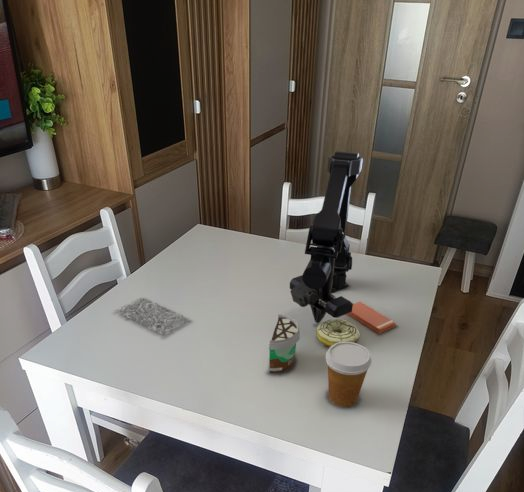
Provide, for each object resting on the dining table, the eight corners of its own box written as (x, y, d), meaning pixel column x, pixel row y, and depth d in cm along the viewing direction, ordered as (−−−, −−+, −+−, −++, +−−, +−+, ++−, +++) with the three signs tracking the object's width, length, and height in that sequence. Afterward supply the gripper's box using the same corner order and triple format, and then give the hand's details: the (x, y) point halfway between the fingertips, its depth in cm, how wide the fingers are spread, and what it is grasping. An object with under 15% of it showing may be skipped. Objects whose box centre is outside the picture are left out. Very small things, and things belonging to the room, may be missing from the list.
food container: (294, 380, 111) (296, 345, 106) (268, 377, 112) (269, 341, 107) (301, 349, 121) (304, 315, 116) (277, 346, 122) (278, 312, 117)
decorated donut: (365, 338, 125) (367, 326, 123) (341, 356, 119) (343, 344, 117) (332, 323, 131) (334, 311, 129) (308, 340, 125) (309, 327, 122)
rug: (142, 298, 141) (141, 295, 141) (190, 321, 131) (190, 318, 131) (114, 312, 135) (114, 309, 134) (163, 337, 125) (163, 334, 124)
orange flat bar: (342, 311, 137) (343, 306, 136) (359, 304, 140) (359, 300, 139) (379, 334, 127) (379, 329, 126) (395, 326, 130) (396, 322, 130)
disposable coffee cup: (317, 384, 110) (322, 341, 103) (358, 382, 111) (365, 339, 104) (325, 413, 102) (330, 368, 96) (370, 411, 103) (378, 366, 96)
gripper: (274, 264, 124) (272, 316, 132) (322, 294, 111) (317, 349, 120) (307, 254, 129) (304, 304, 138) (357, 281, 116) (350, 334, 125)
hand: (317, 322), depth 130 cm, fingers closed
